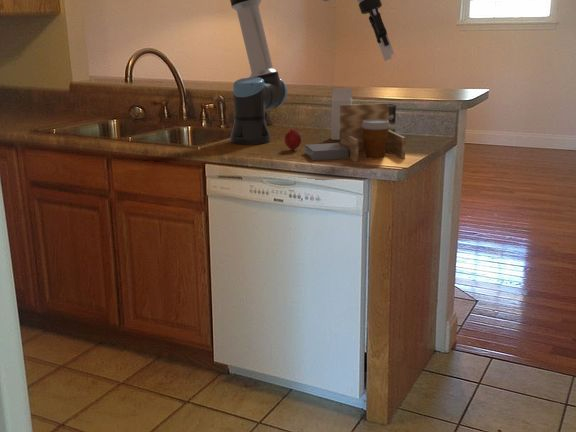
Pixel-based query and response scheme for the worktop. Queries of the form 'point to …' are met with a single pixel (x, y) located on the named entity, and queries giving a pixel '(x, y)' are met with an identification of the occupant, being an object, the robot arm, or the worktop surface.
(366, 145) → the disposable coffee cup
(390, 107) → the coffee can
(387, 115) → the brown patterned armchair
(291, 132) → the onion
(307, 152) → the trivet
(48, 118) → the worktop surface
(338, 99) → the milk carton
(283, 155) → the worktop surface
